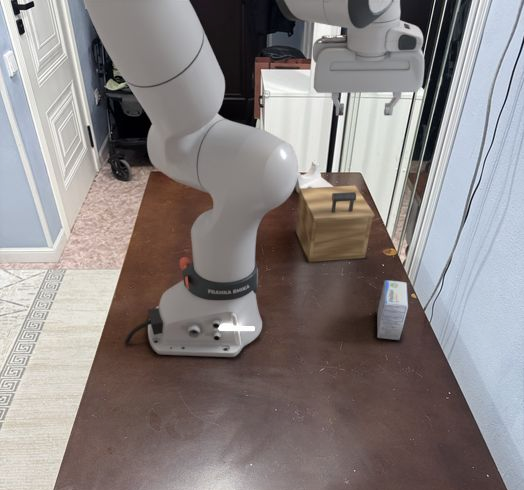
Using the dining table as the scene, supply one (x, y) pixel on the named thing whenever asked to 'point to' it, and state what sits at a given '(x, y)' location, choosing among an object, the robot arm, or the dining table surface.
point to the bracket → (311, 178)
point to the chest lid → (335, 203)
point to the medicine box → (392, 310)
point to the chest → (331, 236)
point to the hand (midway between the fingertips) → (363, 114)
